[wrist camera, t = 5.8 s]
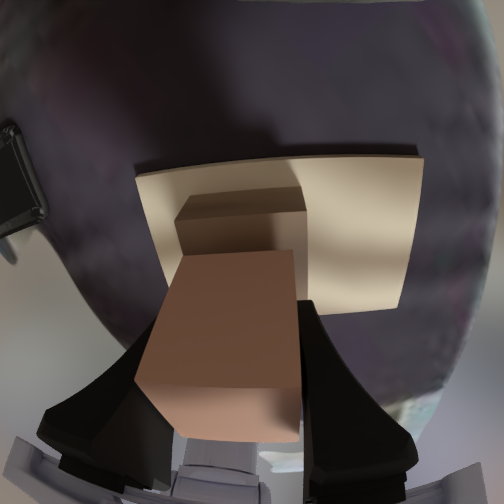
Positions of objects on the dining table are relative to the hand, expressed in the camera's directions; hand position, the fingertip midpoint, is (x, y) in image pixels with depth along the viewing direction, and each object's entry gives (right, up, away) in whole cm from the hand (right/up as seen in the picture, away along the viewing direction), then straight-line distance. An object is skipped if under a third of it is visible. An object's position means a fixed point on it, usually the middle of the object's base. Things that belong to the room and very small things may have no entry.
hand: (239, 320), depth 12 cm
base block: (0, +4, +5) cm, 6 cm away
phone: (-22, +8, +6) cm, 24 cm away
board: (+2, +3, +6) cm, 7 cm away
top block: (0, +1, +1) cm, 2 cm away
